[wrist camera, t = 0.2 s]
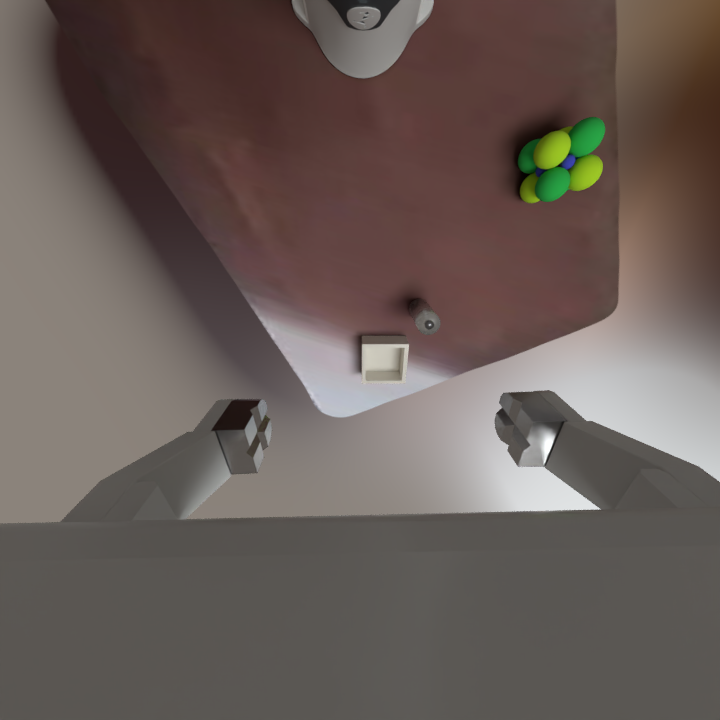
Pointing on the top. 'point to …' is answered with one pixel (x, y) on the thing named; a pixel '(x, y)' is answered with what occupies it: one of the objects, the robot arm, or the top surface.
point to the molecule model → (561, 161)
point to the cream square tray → (384, 359)
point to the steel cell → (424, 317)
